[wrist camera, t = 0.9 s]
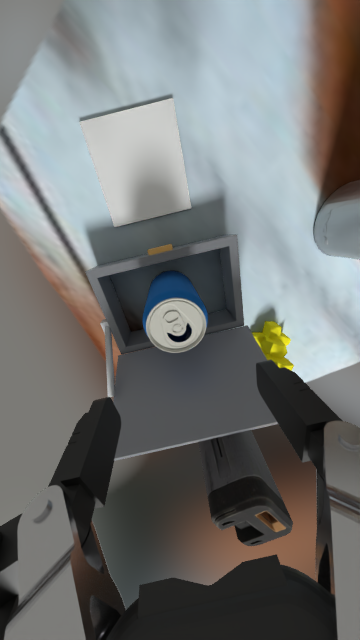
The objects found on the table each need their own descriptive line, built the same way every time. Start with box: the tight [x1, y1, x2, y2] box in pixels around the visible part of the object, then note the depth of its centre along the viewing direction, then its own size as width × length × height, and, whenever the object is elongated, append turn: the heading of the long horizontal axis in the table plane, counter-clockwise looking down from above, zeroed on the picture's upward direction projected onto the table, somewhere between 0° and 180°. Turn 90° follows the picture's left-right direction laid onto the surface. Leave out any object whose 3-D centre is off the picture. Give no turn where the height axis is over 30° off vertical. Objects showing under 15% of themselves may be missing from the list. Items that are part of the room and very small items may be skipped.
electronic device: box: [198, 430, 293, 546], centre depth 27 cm, size 9×6×20 cm, turn 34°
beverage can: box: [142, 271, 208, 353], centre depth 22 cm, size 6×6×12 cm
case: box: [85, 235, 278, 461], centre depth 21 cm, size 19×17×16 cm
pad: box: [80, 98, 191, 227], centre depth 21 cm, size 10×10×1 cm
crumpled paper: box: [251, 321, 294, 370], centre depth 30 cm, size 6×8×8 cm
